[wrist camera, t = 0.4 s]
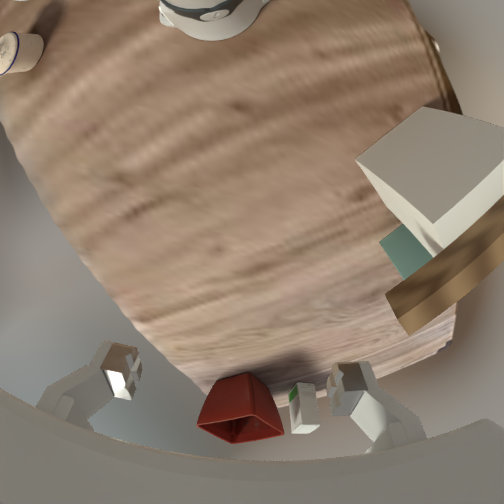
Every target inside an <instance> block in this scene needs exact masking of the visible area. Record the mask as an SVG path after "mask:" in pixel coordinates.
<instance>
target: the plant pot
mask: <svg viewBox="0 0 504 504" xmlns="http://www.w3.org/2000/svg"><path fill="white" fill-rule="evenodd" d="M197 426H198V427H199V428H201V429H203V430H205V431H207V432H209V433H210V434H213V435H214V436H216V437H218V438H220V439H222V440H224V441H226V442H228V443H231V444H237V443H243V442H250V441H256V440H261V439H267V438H271V437H276V436H281V435H284V429H283V426H282V422H281V419H280V416H279V413H278V410H277V407H276V404H275V402H274V400H273V397H272V395H271V393H270V391H269V389H268V388H267V387H266V386H265V385H264V384H263V383H261V382H260V381H259V380H258V379H257V378H256V377H255V376H254V375H252V374H251V373H244V374H241V375H237V376H234V377H230V378H227V379H223V380H219V381H216V382H215V384H214V385H213V387H212V389H211V390H210V392H209V394H208V396H207V398H206V400H205V403H204V405H203V407H202V410H201V412H200V415H199V418H198V421H197Z"/></svg>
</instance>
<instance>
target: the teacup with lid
mask: <svg viewBox="0 0 504 504" xmlns="http://www.w3.org/2000/svg"><path fill="white" fill-rule="evenodd" d="M43 46H44V44H43V39H42V37H41V36H40V35H38V34H27V33H16V32H9V33H6V34H5V35H3V36H2V37H1V38H0V76H3V75H4V74H6V73H13V72H23V71H28V70H30V69H32V68H33V67H34V66H35V65H36V64H37V62H38V61H39V59H40V57H41V55H42V52H43Z"/></svg>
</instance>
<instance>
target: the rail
mask: <svg viewBox="0 0 504 504" xmlns="http://www.w3.org/2000/svg"><path fill="white" fill-rule="evenodd" d="M503 260H504V195H503V196H502V197H501V198H500V199H499V200H498V201H497V202H496V203H495V204H494V205H493V206H492V207H491V208H490V209H489V210H488V211H487V212H486V213H484V214H483V215H482V216H481V217H480V218H479V219H478V220H477V221H476V222H475V223H474V224H473V225H471V226H470V227H469V228H468V229H467V230H466V231H465V232H464V233H462V234H461V235H460V236H459V237H458V238H457V239H456V240H454V241H453V242H452V243H451V244H450V245H448V246H447V247H446V248H445V249H444V250H442V251H441V252H440V253H439V254H437V255H436V256H435V257H434V258H432V259H431V260H430V261H429V262H427V263H426V264H425V265H424V266H422V267H421V268H420V269H418V270H417V271H416V272H414V273H413V274H412V275H410V276H409V277H408V278H406V279H405V280H404V281H402V282H401V283H400V284H398V285H397V286H395V287H394V288H393V289H391V290H390V291H388V292H387V293H386V294H385V296H386V298H387V300H388V302H389V304H390V306H391V308H392V310H393V312H394V314H395V316H396V318H397V320H398V321H399V322H400V324H401V325H402V327H403V328H404V329H405V331H406V332H407V334H408V335H409V336H410V335H411V334H413V333H414V332H416V331H417V330H419V329H420V328H421V327H423V326H424V325H426V324H427V323H429V322H430V321H431V320H433V319H434V318H436V317H437V316H438V315H440V314H441V313H442V312H444V311H445V310H446V309H448V308H449V307H450V306H452V305H453V304H454V303H455V302H457V301H458V300H459V299H460V298H462V297H463V296H464V295H465V294H467V293H468V292H469V291H470V290H471V289H472V288H474V287H475V286H476V285H477V284H478V283H480V282H481V281H482V280H483V279H484V278H485V277H486V276H487V275H489V273H491V272H492V271H493V270H494V269H495V268H496V267H497V266H498V265H499V264H500V263H501V262H502V261H503Z"/></svg>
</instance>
